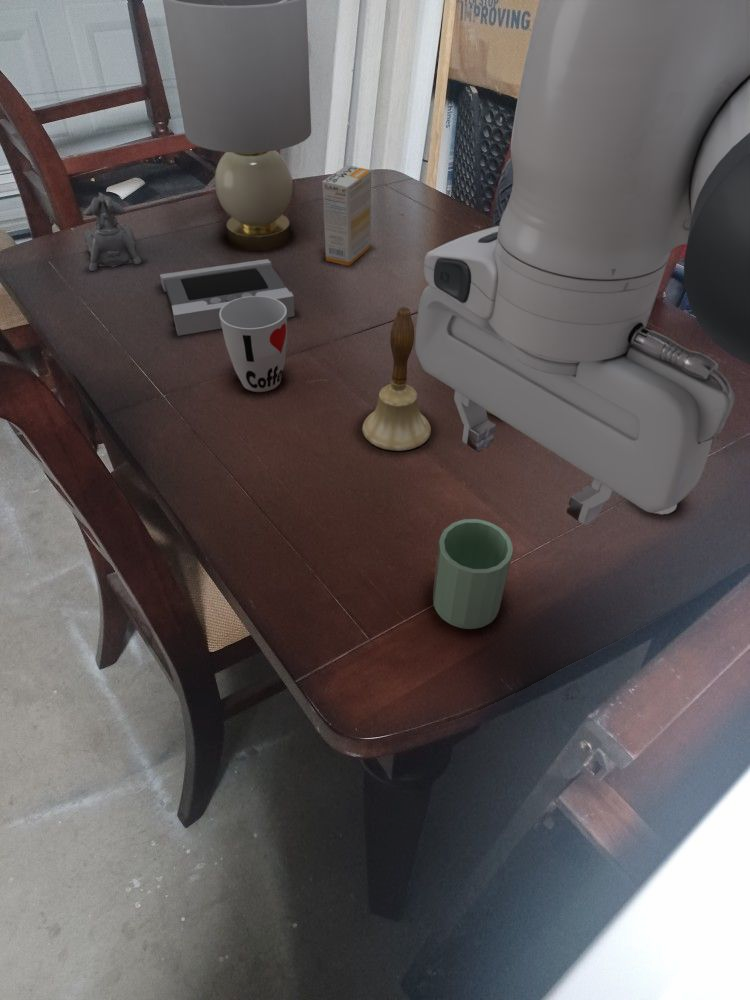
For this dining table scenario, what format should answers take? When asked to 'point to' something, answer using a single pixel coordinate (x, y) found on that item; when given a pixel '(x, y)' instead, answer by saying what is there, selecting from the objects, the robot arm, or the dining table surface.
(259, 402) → the dining table surface
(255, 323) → the cup
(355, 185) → the supplement box
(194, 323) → the alarm clock
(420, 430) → the hand bell
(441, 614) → the sage cup
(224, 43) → the lamp
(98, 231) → the figurine
